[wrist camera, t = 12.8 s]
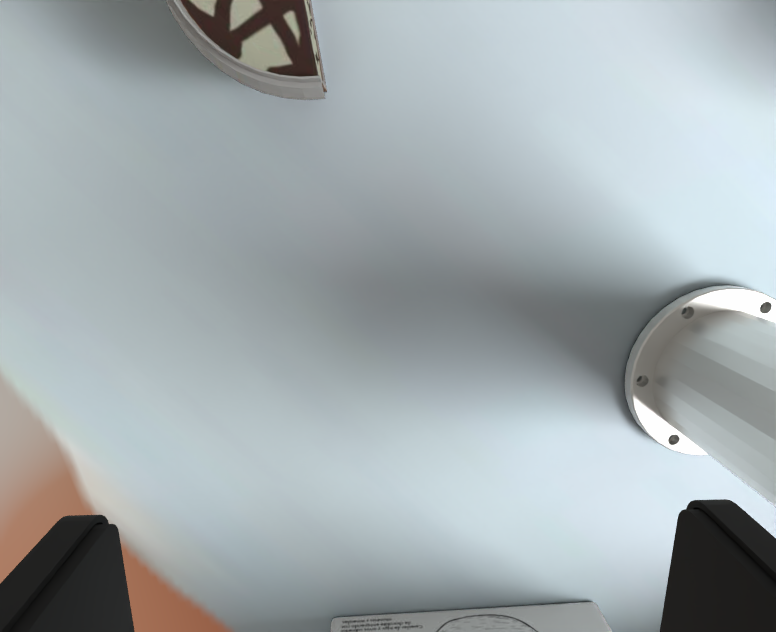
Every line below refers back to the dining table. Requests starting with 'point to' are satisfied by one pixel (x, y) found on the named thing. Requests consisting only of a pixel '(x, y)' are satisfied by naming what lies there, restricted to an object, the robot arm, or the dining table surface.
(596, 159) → the dining table surface
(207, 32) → the food container
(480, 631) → the cereal box
